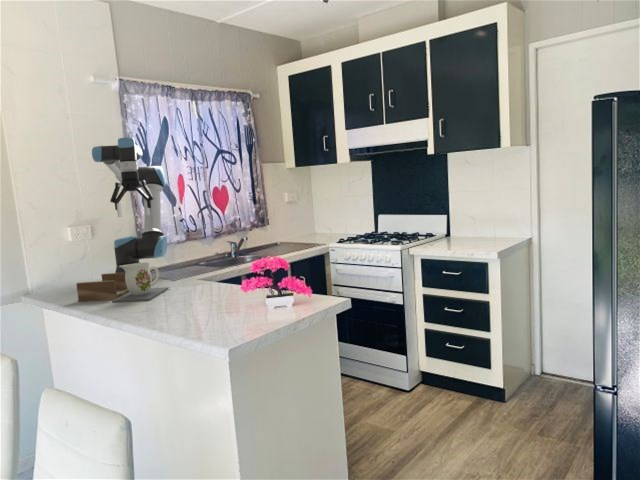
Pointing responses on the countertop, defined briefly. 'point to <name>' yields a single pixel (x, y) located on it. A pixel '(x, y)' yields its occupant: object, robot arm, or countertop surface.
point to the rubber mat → (146, 297)
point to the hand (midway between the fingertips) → (134, 216)
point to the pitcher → (139, 278)
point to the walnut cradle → (103, 288)
